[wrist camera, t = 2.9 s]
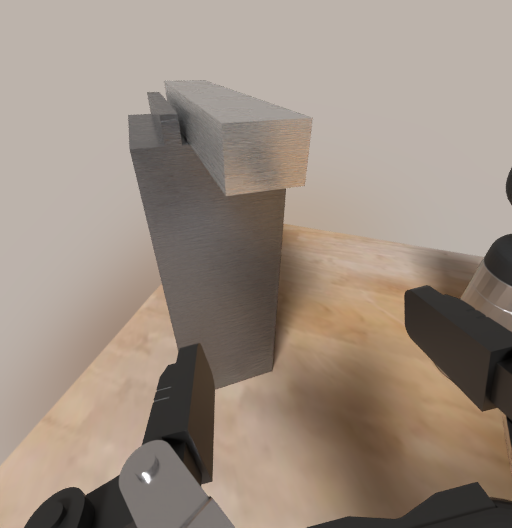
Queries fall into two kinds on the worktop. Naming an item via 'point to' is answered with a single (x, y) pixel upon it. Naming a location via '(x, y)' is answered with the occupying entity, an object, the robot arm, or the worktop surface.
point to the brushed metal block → (242, 137)
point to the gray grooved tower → (209, 249)
